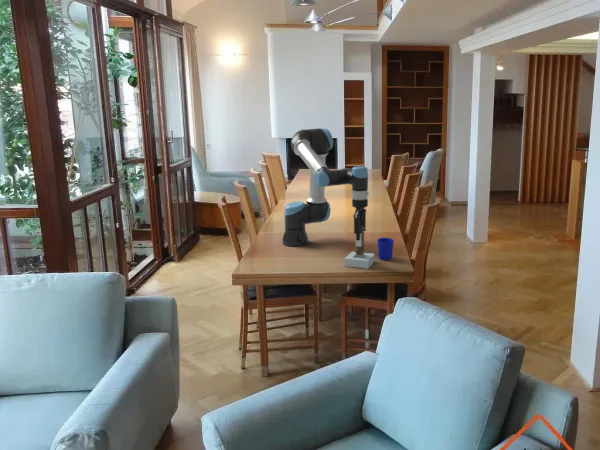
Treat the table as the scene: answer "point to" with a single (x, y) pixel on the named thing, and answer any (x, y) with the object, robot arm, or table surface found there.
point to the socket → (360, 260)
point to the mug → (385, 248)
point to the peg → (361, 249)
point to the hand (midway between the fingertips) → (359, 244)
